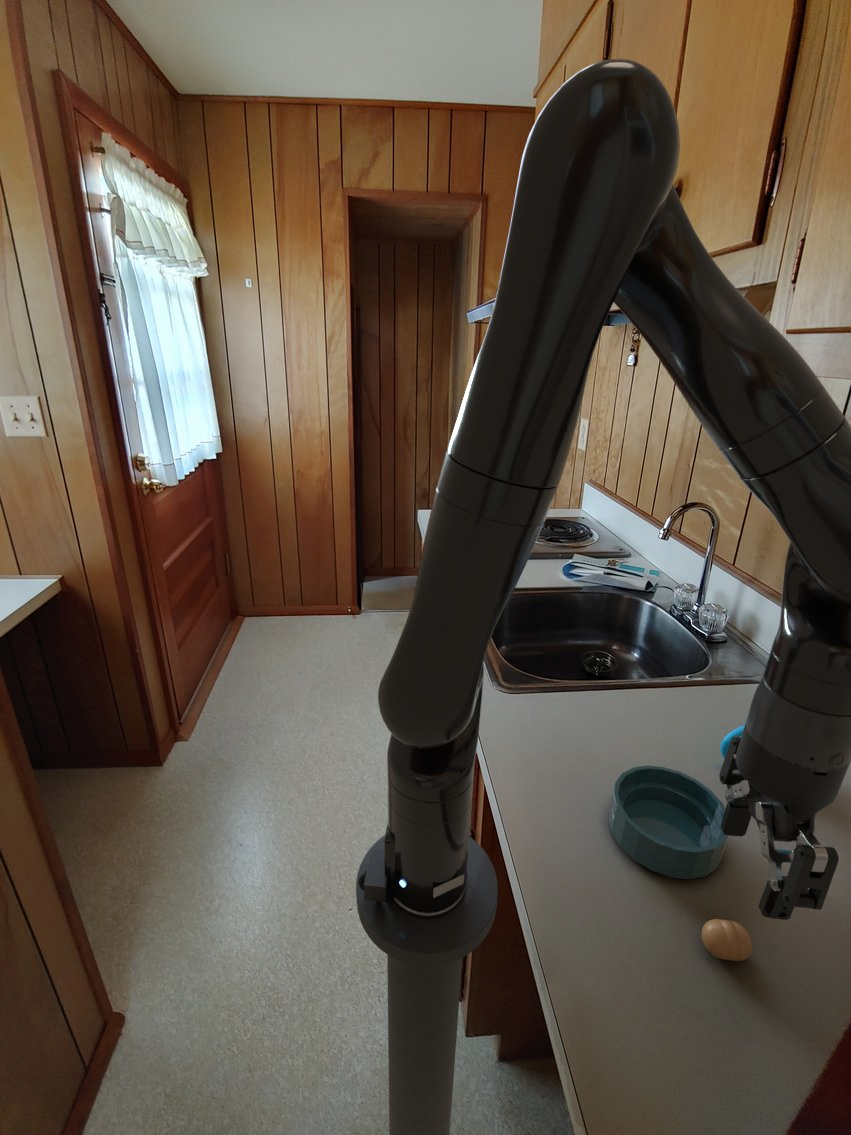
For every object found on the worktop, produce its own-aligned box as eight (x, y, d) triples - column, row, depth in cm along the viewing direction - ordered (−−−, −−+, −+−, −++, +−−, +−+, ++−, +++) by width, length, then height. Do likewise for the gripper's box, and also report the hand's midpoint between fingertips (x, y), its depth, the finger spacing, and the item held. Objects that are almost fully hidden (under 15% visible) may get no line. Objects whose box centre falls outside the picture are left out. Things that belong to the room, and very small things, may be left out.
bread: (705, 965, 55) (713, 943, 54) (693, 931, 58) (700, 909, 57) (753, 970, 55) (762, 948, 53) (739, 936, 58) (747, 914, 56)
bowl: (620, 876, 64) (627, 845, 62) (599, 789, 76) (604, 761, 74) (739, 888, 63) (750, 857, 61) (698, 798, 75) (706, 770, 73)
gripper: (717, 681, 53) (684, 808, 59) (794, 796, 40) (741, 943, 46) (800, 686, 52) (757, 814, 58) (906, 805, 39) (836, 952, 45)
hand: (750, 870), depth 52 cm, fingers open, 8 cm apart
